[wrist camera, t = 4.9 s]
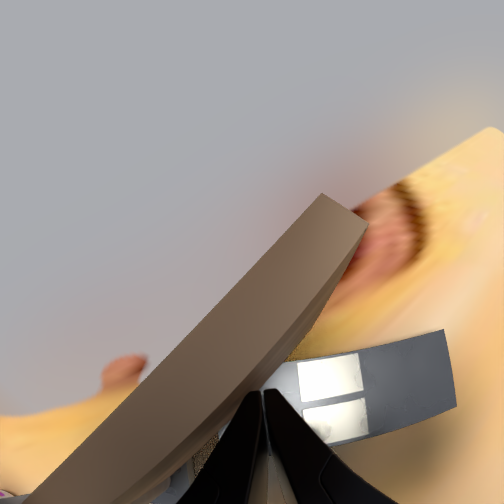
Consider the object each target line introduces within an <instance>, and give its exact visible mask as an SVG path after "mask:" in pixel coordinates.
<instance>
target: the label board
mask: <svg viewBox="0 0 504 504" xmlns="http://www.w3.org/2000/svg"><path fill="white" fill-rule="evenodd" d="M271 388H277V389H278V390H279V391H280V392H281V394H282V395H283V396H284V397H285V398H286V400H287V401H288V402H289V403H290V404H291V405H292V406H293V408H294V409H295V410H296V411H297V412H298V413H299V415H300V416H301V417H302V418H303V419H304V420H305V421H306V422H307V424H308V425H309V426H310V427H311V428H312V429H313V430H314V431H315V432H316V434H317V435H318V436H319V437H320V438H321V439H322V440H323V441H324V442H325V443H326V444H327V445H328V447H332V446H337V445H342V444H346V443H351V442H355V441H359V440H363V439H366V438H370V437H374V436H377V435H381V434H384V433H387V432H391V431H394V430H397V429H400V428H403V427H406V426H409V425H412V424H415V423H417V422H420V421H423V420H425V419H428V418H430V417H433V416H435V415H438V414H440V413H443V412H445V411H447V410H450V409H452V408H454V407H456V406H457V404H456V395H455V388H454V381H453V374H452V368H451V362H450V357H449V352H448V347H447V342H446V337H445V333H444V329H442V330H439V331H435V332H432V333H428V334H425V335H421V336H417V337H413V338H410V339H406V340H402V341H398V342H393V343H389V344H385V345H381V346H376V347H371V348H367V349H362V350H357V351H352V352H346V353H341V354H335V355H330V356H324V357H318V358H311V359H304V360H297V361H290V362H283V363H282V364H281V365H280V366H279V368H278V369H277V370H276V371H275V372H274V373H273V374H272V376H271V377H270V378H269V379H268V380H267V381H266V382H265V383H264V385H263V386H262V387H261V388H260V389H259V390H260V391H261V395H262V401H263V408H264V416H265V425H266V433H267V442H268V453H269V456H272V453H271V447H270V441H269V434H268V427H267V421H266V414H265V404H264V393H263V391H264V390H265V389H271ZM230 421H231V420H230ZM230 421H229V422H228V423H227V424H226V425H225V426H224V427H223V428H222V429H221V430H220V431H219V432H218V436H219V440H220V438H221V436H222V435H223V433H224V431H225V430H226V428H227V426H228V424H229V423H230ZM170 478H171V483H170V486H169V488H168V489H167V490H166V491H164V492H163V493H162V494H161V495H159V496H158V497H157V498H156V499H154V500H153V501H152V502H150V503H154V504H176V503H177V501H178V500H179V499H180V498H181V497H182V496H183V494H184V493H185V492H186V491H187V490H188V488H189V487H190V485H191V484H192V483H193V481H194V480H195V476H194V468H193V459H192V457H191V458H190V459H189V460H188V461H187V462H186V463H185V464H184V465H182V466H181V467H180V468H179V469H178V470H177V471H176V472H174V473H173V474H172V475H171V476H170Z"/></svg>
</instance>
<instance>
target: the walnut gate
mask: <svg viewBox="0 0 504 504" xmlns="http://www.w3.org/2000/svg"><path fill="white" fill-rule="evenodd" d="M368 225H369V223H368V222H366V221H365V220H363V219H362V218H360V217H359V216H357V215H356V214H354V213H353V212H351V211H350V210H348V209H346V208H345V207H343V206H342V205H340V204H339V203H337V202H336V201H334V200H332V199H331V198H329V197H327V196H326V195H324V194H323V193H321V194H320V195H319V196H318V197H317V199H316V200H315V201H314V202H313V203H312V204H311V205H310V206H309V207H308V208H307V209H306V210H305V211H304V213H303V214H302V215H301V216H300V217H299V218H298V219H297V220H296V221H295V222H294V223H293V224H292V225H291V227H290V228H289V229H288V230H287V231H286V232H285V233H284V234H283V235H282V236H281V237H280V238H279V239H278V240H277V242H276V243H275V244H274V245H273V246H272V247H271V248H270V249H269V250H268V251H267V252H266V253H265V254H264V255H263V256H262V257H261V258H260V260H259V261H258V262H257V263H256V264H255V265H254V266H253V267H252V268H251V269H250V270H249V271H248V272H247V273H246V275H244V277H243V278H242V279H241V280H240V281H239V282H238V283H237V284H236V285H235V286H234V287H233V288H232V289H231V290H230V291H229V292H228V294H227V295H226V296H225V297H224V298H223V299H222V300H221V301H220V302H219V303H218V304H217V305H216V306H215V307H214V308H213V309H212V310H211V311H210V312H209V313H208V314H207V316H205V317H204V319H203V320H202V321H201V322H200V323H199V324H198V325H197V326H196V327H195V328H194V329H193V330H192V331H191V332H190V333H189V334H188V335H187V336H186V337H185V338H184V340H182V342H181V343H180V344H179V345H178V346H177V347H176V348H175V349H174V350H173V351H172V352H171V353H170V354H169V355H168V356H167V357H166V358H165V359H164V360H163V361H162V362H161V363H160V364H159V365H158V366H157V367H156V368H155V369H154V370H153V371H152V373H151V374H150V375H149V376H148V377H147V378H146V379H145V380H144V381H143V382H142V383H141V384H140V385H139V386H138V387H137V388H136V389H135V390H134V391H133V392H132V393H131V394H130V395H129V396H128V397H127V398H126V399H125V400H124V401H123V402H122V403H121V404H120V405H119V406H118V407H117V408H116V409H115V410H114V411H113V412H112V413H111V414H110V415H109V416H108V418H107V419H106V420H105V421H104V422H103V423H102V424H101V425H100V426H99V427H98V428H97V429H96V430H95V431H94V432H93V433H92V434H91V435H90V436H89V437H88V438H87V439H86V440H85V441H84V442H83V443H82V444H81V445H80V446H79V447H78V448H77V449H76V450H75V451H74V452H73V453H72V454H71V455H70V456H69V457H68V458H67V459H66V460H65V461H64V462H63V463H62V464H61V465H60V466H59V467H58V468H57V469H56V470H55V471H54V472H53V473H52V474H51V475H50V476H49V477H48V478H47V479H46V480H45V481H44V482H43V483H42V484H41V485H39V486H38V487H37V488H36V489H35V490H34V491H33V492H32V493H31V494H26V495H20V496H14V497H8V498H1V499H0V504H149V503H150V502H152V501H153V500H154V499H156V498H157V497H158V496H159V495H161V494H162V493H163V492H164V491H166V490H167V489H168V488H169V486H170V483H171V478H170V476H171V475H172V474H173V473H174V472H176V471H177V470H178V469H179V468H180V467H181V466H182V465H184V464H185V463H186V462H187V461H188V460H189V459H190V458H191V457H192V456H193V455H195V454H196V453H197V452H198V451H199V450H200V449H201V448H202V447H203V446H204V445H205V444H206V443H207V442H208V441H209V440H210V439H211V438H212V437H213V436H215V435H216V434H217V433H218V432H219V431H220V430H221V429H222V428H223V427H224V426H225V425H226V424H227V423H228V422H229V421H230V420H231V419H232V418H233V416H234V414H235V412H236V411H237V409H238V407H239V405H240V403H241V402H242V400H243V398H244V397H245V396H246V395H247V394H248V393H249V392H250V391H255V390H259V389H260V388H261V387H262V386H263V385H264V383H265V382H266V381H267V380H268V379H269V378H270V377H271V376H272V374H273V373H274V372H275V371H276V370H277V369H278V368H279V366H280V365H281V364H282V363H283V362H284V361H285V359H286V358H287V357H288V356H289V355H290V354H291V352H292V351H293V350H294V349H295V348H296V346H297V345H298V344H299V343H300V342H301V340H302V339H303V338H304V337H305V335H306V334H307V333H308V332H309V330H310V329H311V328H312V326H313V325H314V323H315V321H316V320H317V318H318V316H319V315H320V313H321V311H322V310H323V308H324V306H325V305H326V303H327V301H328V300H329V298H330V296H331V294H332V293H333V291H334V289H335V287H336V286H337V284H338V282H339V280H340V278H341V277H342V275H343V273H344V271H345V269H346V268H347V266H348V264H349V262H350V260H351V258H352V256H353V255H354V253H355V251H356V249H357V247H358V245H359V243H360V241H361V239H362V237H363V235H364V233H365V231H366V229H367V227H368Z"/></svg>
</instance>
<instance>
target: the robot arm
mask: <svg viewBox="0 0 504 504" xmlns="http://www.w3.org/2000/svg"><path fill="white" fill-rule="evenodd" d="M263 393H264V404H265V414H266V421H267V427H268V434H269V441H270V447H271V453H272V457H273V461H274V465H275V468H276V472H277V475H278V479H279V482H280V486H281V489H282V493H283V496H284V500H285V503H286V504H398V503H397V502H395V501H394V500H392V499H391V498H389V497H388V496H386V495H385V494H383V493H382V492H380V491H379V490H377V489H376V488H375V487H373V486H372V485H370V484H369V483H368V482H366V481H365V480H364V479H362V478H361V477H360V476H358V475H357V474H356V473H355V472H353V471H352V470H351V469H350V468H349V467H348V466H347V465H346V464H345V463H344V462H343V461H342V460H341V459H340V458H339V457H338V456H337V455H336V454H334V452H333V451H332V450H331V449H330V448H329V447H328V445H327V444H326V443H325V442H324V441H323V440H322V439H321V438H320V437H319V436H318V435H317V434H316V432H315V431H314V430H313V429H312V428H311V427H310V426H309V425H308V424H307V422H306V421H305V420H304V419H303V418H302V417H301V416H300V415H299V413H298V412H297V411H296V410H295V409H294V408H293V406H292V405H291V404H290V403H289V402H288V401H287V400H286V398H285V397H284V396H283V395H282V394H281V392H280V391H279V390H278V389H277V388H271V389H265V390H264V391H263ZM268 461H269V453H268V442H267V433H266V425H265V416H264V408H263V401H262V395H261V391H260V390H255V391H250V392H249V393H248V394H247V395H246V396H245V397H244V398H243V400H242V402H241V403H240V405H239V407H238V409H237V411H236V412H235V414H234V416H233V418H232V419H231V421H230V423H229V424H228V426H227V428H226V430H225V431H224V433H223V435H222V436H221V438H220V440H219V441H218V443H217V445H216V446H215V448H214V450H213V451H212V453H211V455H210V456H209V458H208V459H207V461H206V463H205V464H204V466H203V468H202V469H201V470H200V472H199V474H198V475H197V477H196V478H195V480H194V481H193V483H192V484H191V485H190V487H189V488H188V490H187V491H186V492H185V493H184V494H183V496H182V497H181V498H180V499H179V500H178V501H177V503H176V504H267V486H268Z"/></svg>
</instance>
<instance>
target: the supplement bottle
mask: <svg viewBox="0 0 504 504" xmlns="http://www.w3.org/2000/svg"><path fill="white" fill-rule="evenodd" d="M8 497H14V496H13V495H11V494H10V493H8V492H6V491H3V490H0V499H1V498H8Z"/></svg>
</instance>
